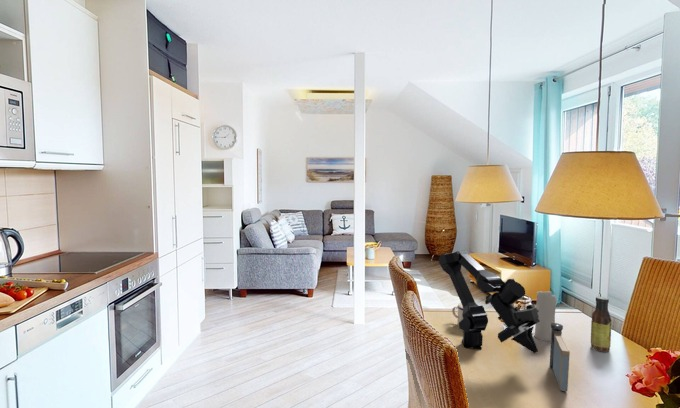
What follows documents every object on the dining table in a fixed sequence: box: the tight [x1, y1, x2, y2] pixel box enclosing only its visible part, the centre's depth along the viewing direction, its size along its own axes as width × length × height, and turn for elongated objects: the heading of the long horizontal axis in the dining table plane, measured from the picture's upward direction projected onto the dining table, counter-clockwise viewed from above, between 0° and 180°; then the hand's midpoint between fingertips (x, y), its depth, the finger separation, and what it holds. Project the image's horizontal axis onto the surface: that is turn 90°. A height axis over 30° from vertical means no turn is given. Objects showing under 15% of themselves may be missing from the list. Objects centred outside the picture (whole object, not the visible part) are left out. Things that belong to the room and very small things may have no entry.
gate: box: [552, 333, 571, 392], centre depth 118 cm, size 14×2×12 cm, turn 158°
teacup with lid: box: [451, 302, 463, 327], centre depth 162 cm, size 12×9×12 cm
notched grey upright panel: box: [534, 290, 558, 342], centre depth 153 cm, size 7×14×20 cm, turn 124°
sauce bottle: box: [590, 296, 612, 353], centre depth 141 cm, size 6×6×20 cm
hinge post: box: [549, 322, 564, 370], centre depth 126 cm, size 4×4×15 cm
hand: (536, 352), depth 120 cm, fingers closed
